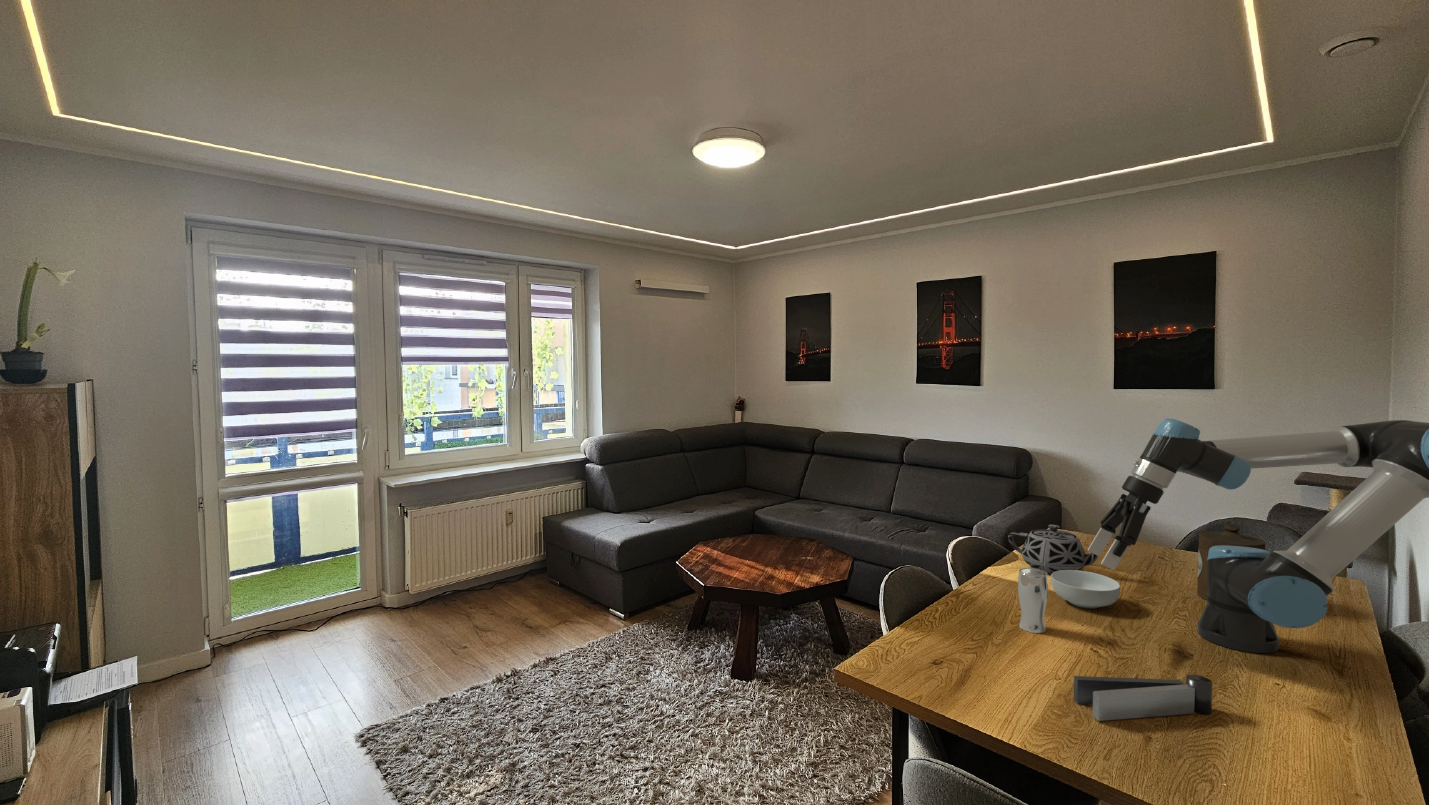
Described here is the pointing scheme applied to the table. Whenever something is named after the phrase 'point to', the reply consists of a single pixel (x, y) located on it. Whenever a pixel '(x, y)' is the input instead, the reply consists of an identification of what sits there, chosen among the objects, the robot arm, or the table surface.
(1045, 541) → the teapot
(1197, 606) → the table surface
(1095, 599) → the cereal bowl
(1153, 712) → the bar
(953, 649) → the table surface
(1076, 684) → the blade
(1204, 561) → the brown lidded jar
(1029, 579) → the beer glass
